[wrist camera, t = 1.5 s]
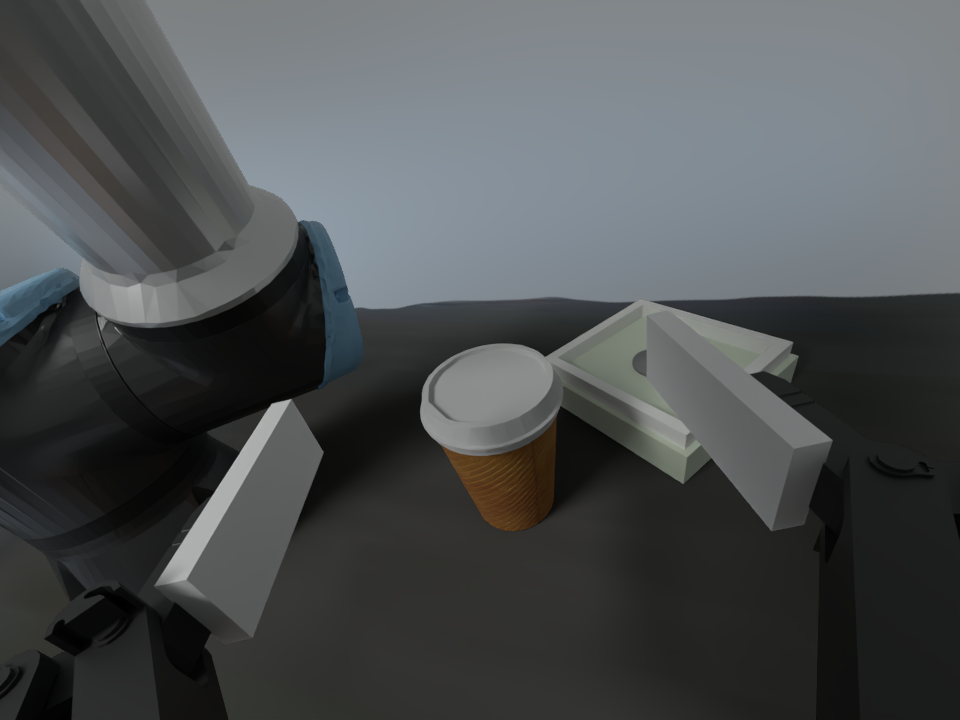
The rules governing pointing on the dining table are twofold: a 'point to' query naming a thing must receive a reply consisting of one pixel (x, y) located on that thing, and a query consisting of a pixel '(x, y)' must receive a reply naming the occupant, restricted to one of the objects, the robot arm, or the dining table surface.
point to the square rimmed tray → (631, 397)
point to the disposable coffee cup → (498, 429)
